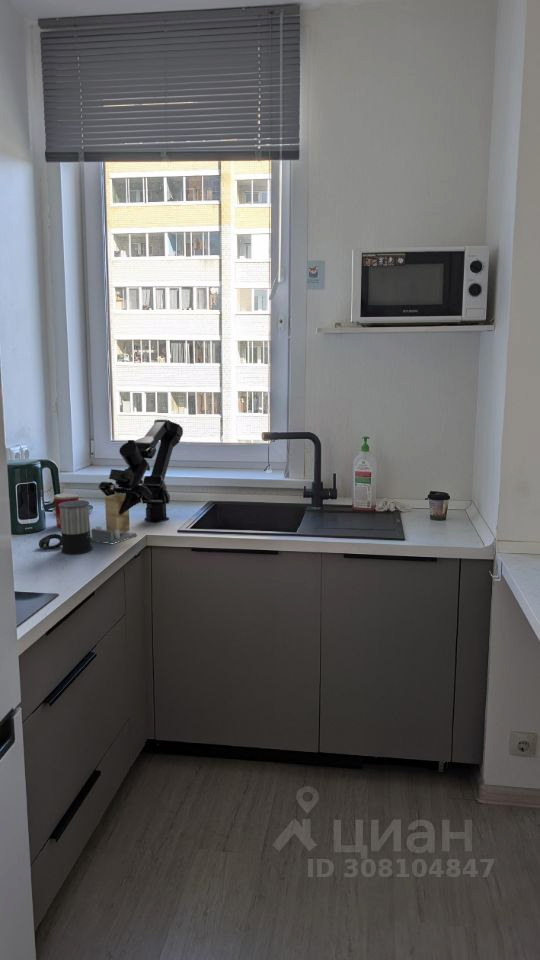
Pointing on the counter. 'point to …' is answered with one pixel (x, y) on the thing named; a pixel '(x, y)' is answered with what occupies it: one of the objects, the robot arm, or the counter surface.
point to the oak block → (116, 513)
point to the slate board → (110, 535)
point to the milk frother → (72, 529)
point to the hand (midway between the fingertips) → (114, 513)
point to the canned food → (59, 499)
